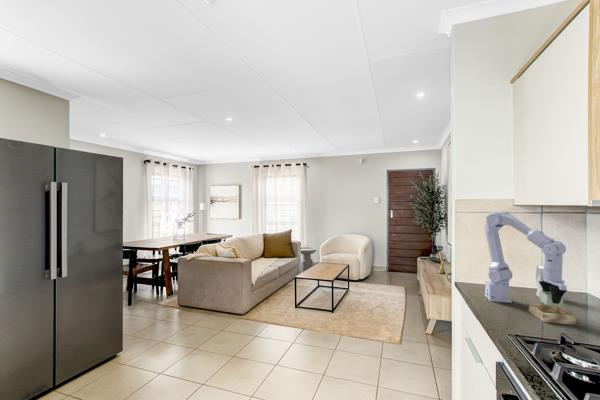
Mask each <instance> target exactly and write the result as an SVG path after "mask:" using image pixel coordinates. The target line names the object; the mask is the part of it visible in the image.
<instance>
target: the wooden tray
mask: <svg viewBox="0 0 600 400" xmlns="http://www.w3.org/2000/svg"><path fill="white" fill-rule="evenodd" d="M528 311H529V312H530V313H531V314H532V315H534V317H536V318H537V319H538V320H539V321H541V322H543V323H551V324H552V323H553V324H564V325H573V326H575V325H576V322H577V316H576V315H574V314H572V313H571V312H569V311H568V310H566V309H565V308H564V307H556V306H546V305H545V304H543V303H528Z"/></svg>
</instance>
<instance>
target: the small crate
mask: <svg viewBox="0 0 600 400" xmlns="http://www.w3.org/2000/svg"><path fill="white" fill-rule="evenodd" d="M539 302H540V303H541V304H543V305H546V306H556V307H562V308H564V295H563V296H562V298H561V301H560V303H559V304H554V303H553V302H552V296H551V292H545V291H540V297H539Z"/></svg>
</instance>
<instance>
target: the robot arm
mask: <svg viewBox="0 0 600 400" xmlns="http://www.w3.org/2000/svg"><path fill="white" fill-rule="evenodd" d="M485 220H486V223H485V226H484V231H485V236H486V242H487V246H488V250H489V251H488V252H489V257H490V261H491V263H490V264H489V266H488V278H489V280H487V281H485V285H484V286H485V287H484V296H485V297H486V298H487V299H488V300H489V301H490V302H497V303H508V304H509V303H511V304H512V303H513V301H512V300H511V299H509V298H510V297H509V292H510V280H511V279H512V278H513V272H512V270H511V269H510V265H508V263H506V261H505V258H504V253H503V248H502V247H503V246H502V243H501V238H500V233H499V231H500V230H501V229H502V228H503V226H508V227H509V226H510V227H512V228H514V229H516V230H517V231H519V232H520V233H522V234H524V235H525V236H526V239H527V240H528V241H529V242H531V243H532V244H534V245H535V246H536V247H538V248H539V249H541V251H542V252H543V254H544V265H543V266H544V275H540V279H543V281H539V283H540V285H541V287H542V289H543V291H545V292H551V296H552V302H553V303H554V304H559V303H560V301H561V298H562V296H563V297H564V294H566V293H567V292H568V289H567V287H568V286H567V285H566V284H565V282H566V281H565V280H563V278H562V277H563V260H564V259H563V257H564V254H565V253H566V251H567V248H566V245H565V244H564V243H563V242H562V241H559V240H555V239H554V238H553V237H549V236H547V235H546V234H544V231H542V230H538V229H535V230H533V229H532V228H530V227H529V226H527V225H526V224H525V223H523V222H522V221H520V220H519V219H518V218H517V217H515V215H513V214H511V213H510V212H508V211H498V212H497V211H495V212H494V211H492V212H490V213H489V214H488V215H487V216H486V217H485Z"/></svg>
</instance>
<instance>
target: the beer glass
mask: <svg viewBox="0 0 600 400" xmlns="http://www.w3.org/2000/svg"><path fill="white" fill-rule="evenodd" d="M540 275H544V265H537V266H536V270H535V281H536V287H537V290H536V293H535V295H536V296H537V297H539V298H540V291H543V289H542V287H541V285H540V283H539V281H543V279H540Z"/></svg>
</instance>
